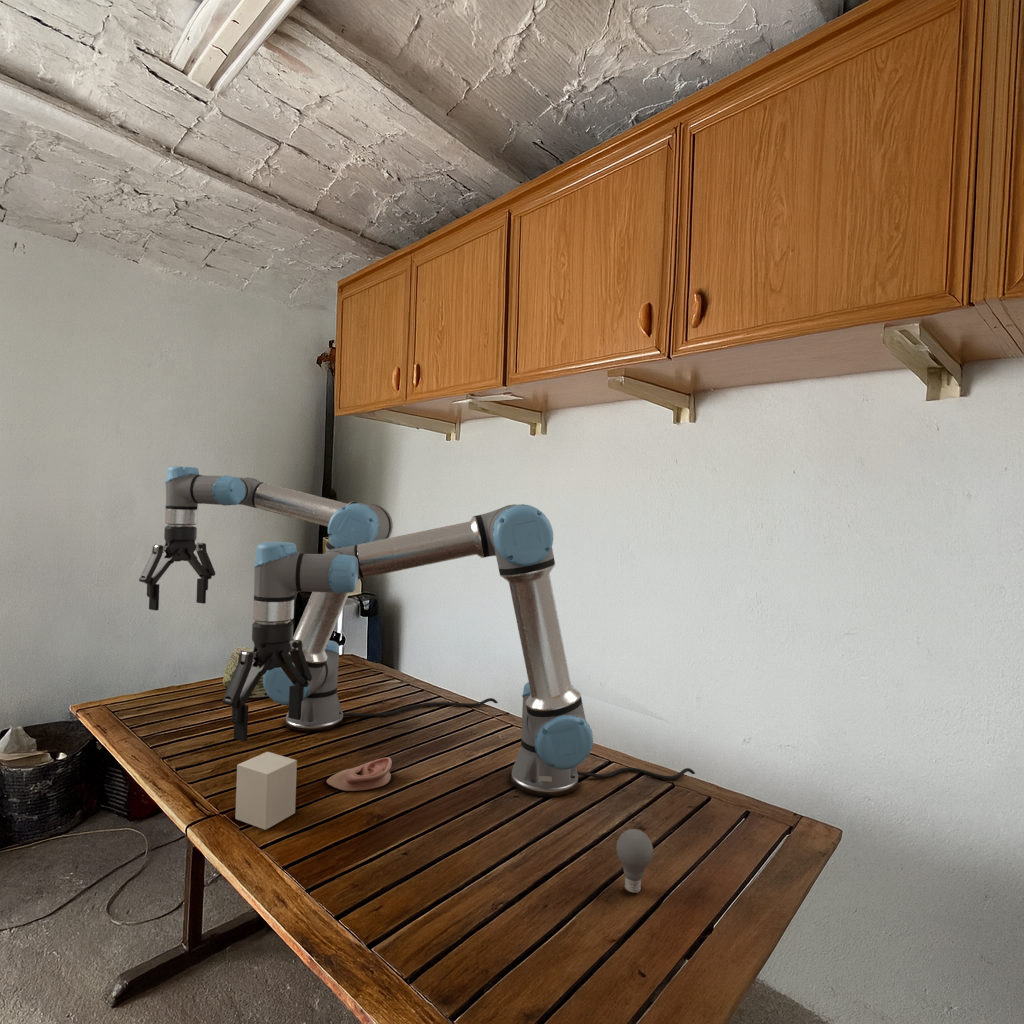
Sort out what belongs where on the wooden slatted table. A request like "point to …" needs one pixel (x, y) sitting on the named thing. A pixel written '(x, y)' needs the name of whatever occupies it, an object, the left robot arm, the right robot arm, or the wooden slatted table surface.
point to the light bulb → (634, 857)
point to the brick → (266, 790)
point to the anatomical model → (363, 776)
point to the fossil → (230, 669)
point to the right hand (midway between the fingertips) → (268, 728)
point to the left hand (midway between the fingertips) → (178, 606)
